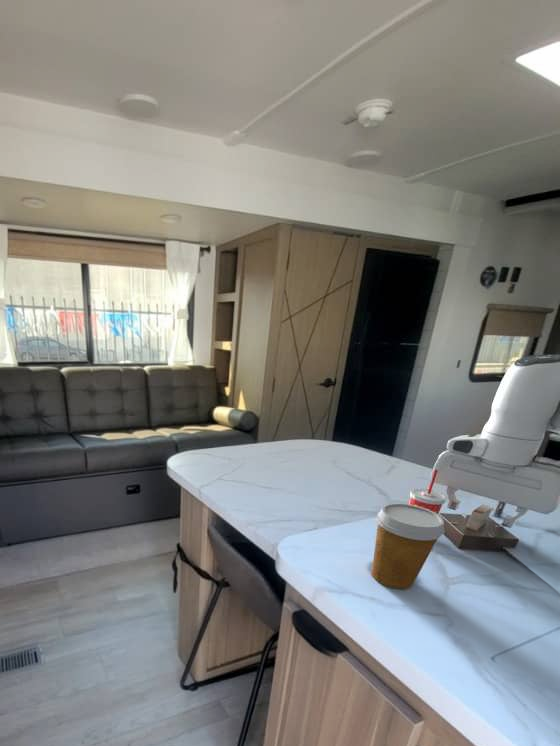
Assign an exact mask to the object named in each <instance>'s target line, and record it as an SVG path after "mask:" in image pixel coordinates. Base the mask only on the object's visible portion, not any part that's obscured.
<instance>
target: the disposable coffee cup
mask: <svg viewBox="0 0 560 746" xmlns="http://www.w3.org/2000/svg"><path fill="white" fill-rule="evenodd" d="M376 519H377V520H376V521H377V529H376V536H375V542H374V543H375V545H374V552H373V559H372V560H373V561H372V567H371V576H372V578H373V579H374V580H375V581H376V582H377V583H379V584H381V585H383V586H385V587H387V588H391V589H394V590H409V589H410V588H412V587H413V585H414V583H415V582H416V580H417V578H418V576H419V574H420V572H421V570H422V569H423V567H424V565H425V564H426V561H427V559H428V557H429V556H430V554H431V552H432V550H433V548H434V546H435V545H436V543H437V541H438V539H440V537H441V536H442V535H444V534H443V533H444V532H445V528H444V521H443V518H442V517H440V516H439V515H438V514H436V513H435V512H433V511H431V510H428V509H425V508H422V507H419V506H415V505H410V504H409V503H402V502H392V503H387V504H385V505H383V506H382V507H381V510H379V511H378V512H377V514H376Z"/></svg>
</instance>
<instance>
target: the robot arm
mask: <svg viewBox="0 0 560 746" xmlns="http://www.w3.org/2000/svg"><path fill="white" fill-rule="evenodd" d="M490 409H491V412H490V416H489V419H488V420H487V422H486V423H485V424H484V426H483V428H482V430H481V433H479V434H463V435H459V436H455V437H453V438H450V439H449V440H448V441H447V444H446V449H447V450H445V451H443V452H441V454H439V456H438V457H437V459H436V460H435V461H436V462H435V463H434V465H433V468H432V470H431V473H430V479H431V480H432V478H433V475H434V472H435V470H438V472H437V475H436V478H435V481H434V484H437V485H441V486H446V487H447V488H446V490H445V493H446V495H447V496H446V497H447V499H448V503H447V506H446V507H447V509H449V510H453V511H456V510H458V509H459V505H460V503H461V500H460V499H457V497H456V492H458V491H463V492H466V493H470V494H473V495H477V496H480V497H484V498H487V499H491V500H494V501H496V502H497V501H501V502H504V503H506V504H508V505H511V506H515V507H516V509H515V512H516V513H515V514H514V515H506V516H504V518H503V520H502V522H501V524H500V526H504V528H509V529H511V528H513V527H514V524H515V523H516V520H518V519H520V518H521V517H522V516H524V515H526V514H527V513H528V511H531V512H532V511H533V512H536V513H539V514H543V515H549V514H551V513H553V512H555V511H556V510H557V509H558V507H559V505H560V460H555V459H552V458H549V457H544V456H541V455H537V454H538V451H539V450H540V447H541V445H542V443H543V441H544V439H545V434H546V432H547V431H548V432H551V433H556V434H559V435H560V354H550V353H549V354H533V355H526V356H523V357H521V358H519V359H515V361H514V362H512V364H511V365H510V366H509V367H508V369H507V371H506V372H505V373H504V376H503V377H502V378H501V381H500V384H499V386H498V388H497V390H496V393H495V395H494V398H493V401H492V403H491V408H490Z"/></svg>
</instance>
